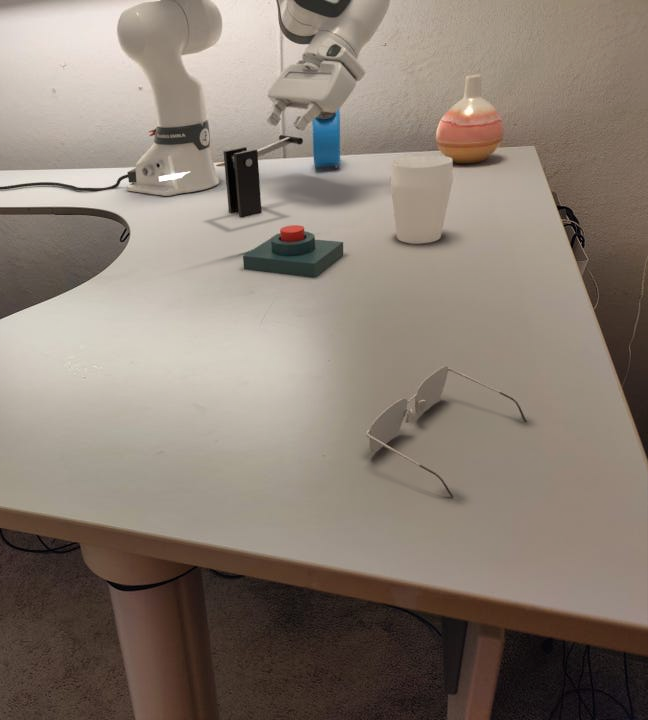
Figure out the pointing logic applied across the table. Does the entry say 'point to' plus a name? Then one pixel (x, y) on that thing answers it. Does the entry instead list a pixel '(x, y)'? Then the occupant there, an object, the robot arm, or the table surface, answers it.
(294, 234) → the button
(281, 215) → the table surface
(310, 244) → the button box
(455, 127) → the vase
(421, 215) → the cup
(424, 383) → the eyeglasses
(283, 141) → the lever
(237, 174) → the bracket
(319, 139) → the blue block with ball
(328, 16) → the robot arm
